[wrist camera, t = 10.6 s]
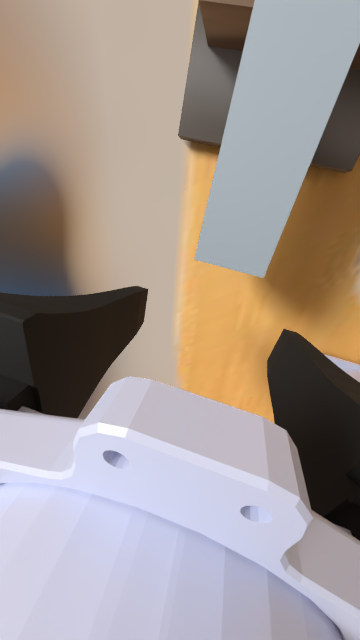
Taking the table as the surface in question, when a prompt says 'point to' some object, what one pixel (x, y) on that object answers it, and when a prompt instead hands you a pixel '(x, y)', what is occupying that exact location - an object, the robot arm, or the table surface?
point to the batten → (275, 125)
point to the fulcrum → (220, 77)
